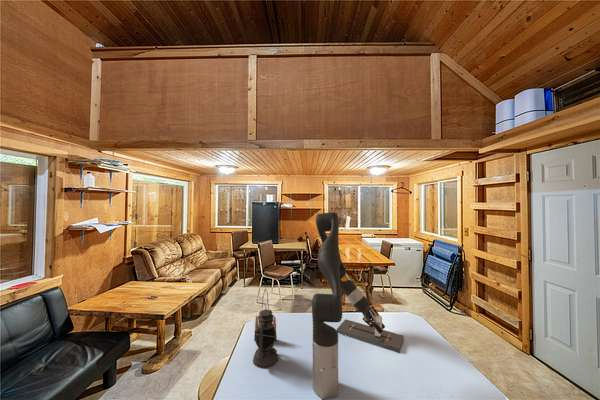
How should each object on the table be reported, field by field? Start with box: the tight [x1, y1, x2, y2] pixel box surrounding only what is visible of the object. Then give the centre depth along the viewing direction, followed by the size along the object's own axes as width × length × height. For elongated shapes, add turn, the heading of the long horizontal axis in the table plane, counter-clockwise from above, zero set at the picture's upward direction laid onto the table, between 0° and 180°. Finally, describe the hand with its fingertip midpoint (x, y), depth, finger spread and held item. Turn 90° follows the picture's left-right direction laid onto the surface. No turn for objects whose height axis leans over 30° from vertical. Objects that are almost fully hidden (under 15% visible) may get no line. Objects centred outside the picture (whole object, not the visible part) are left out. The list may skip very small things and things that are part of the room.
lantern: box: [252, 288, 279, 369], centre depth 99 cm, size 12×11×30 cm
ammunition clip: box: [254, 315, 278, 343], centre depth 112 cm, size 11×2×12 cm, turn 87°
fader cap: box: [375, 315, 383, 337], centre depth 113 cm, size 2×4×8 cm, turn 148°
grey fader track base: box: [336, 318, 405, 354], centre depth 116 cm, size 30×12×2 cm, turn 58°
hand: (382, 330), depth 112 cm, fingers closed on fader cap, 4 cm apart
